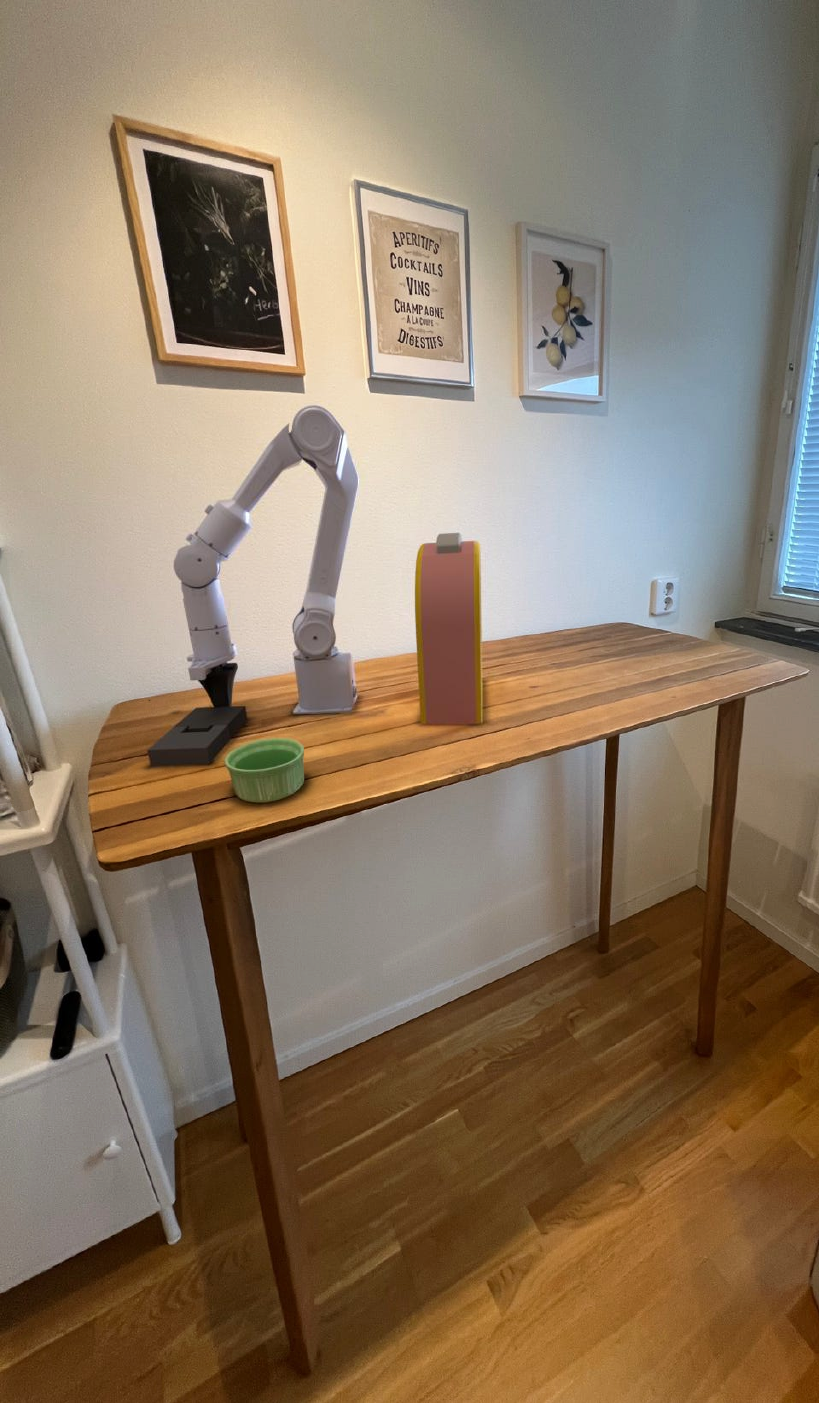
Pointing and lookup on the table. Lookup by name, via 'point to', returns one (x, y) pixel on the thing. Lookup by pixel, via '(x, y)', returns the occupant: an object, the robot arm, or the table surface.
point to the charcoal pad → (188, 746)
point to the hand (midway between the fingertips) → (223, 710)
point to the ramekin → (266, 769)
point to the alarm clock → (449, 630)
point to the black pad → (215, 719)
